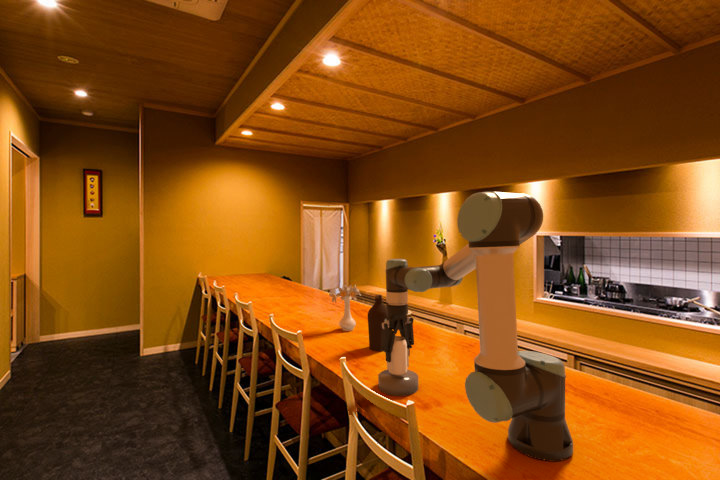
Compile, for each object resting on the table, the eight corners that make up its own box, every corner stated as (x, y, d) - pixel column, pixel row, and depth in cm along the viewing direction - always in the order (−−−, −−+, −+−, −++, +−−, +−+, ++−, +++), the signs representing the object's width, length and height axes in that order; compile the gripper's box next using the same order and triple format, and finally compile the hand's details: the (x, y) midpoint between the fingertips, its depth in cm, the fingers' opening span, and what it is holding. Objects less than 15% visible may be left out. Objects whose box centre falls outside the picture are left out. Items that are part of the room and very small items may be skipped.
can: (392, 376, 128) (392, 341, 128) (386, 369, 134) (385, 336, 134) (410, 374, 130) (409, 340, 129) (403, 367, 136) (402, 334, 136)
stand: (418, 397, 124) (418, 385, 124) (376, 394, 126) (376, 383, 126) (418, 380, 138) (418, 369, 138) (380, 378, 140) (380, 367, 140)
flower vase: (326, 330, 206) (325, 285, 205) (352, 324, 218) (351, 282, 217) (341, 335, 196) (340, 288, 195) (367, 329, 208) (366, 284, 208)
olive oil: (364, 350, 173) (363, 296, 172) (372, 343, 182) (372, 292, 182) (386, 352, 169) (385, 297, 168) (393, 345, 178) (392, 293, 177)
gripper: (409, 298, 140) (410, 359, 141) (368, 305, 129) (369, 371, 129) (424, 301, 134) (425, 364, 135) (382, 308, 122) (383, 378, 123)
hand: (398, 367), depth 132 cm, fingers closed on can, 6 cm apart
